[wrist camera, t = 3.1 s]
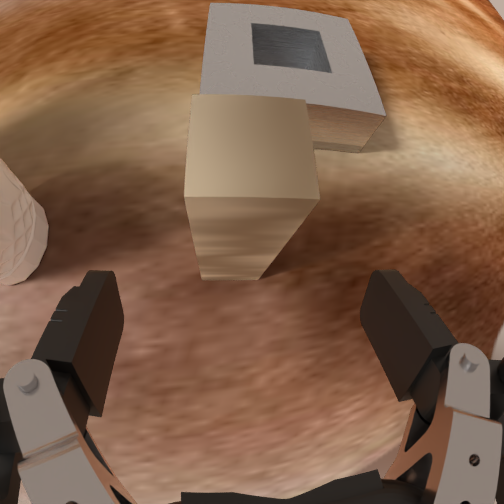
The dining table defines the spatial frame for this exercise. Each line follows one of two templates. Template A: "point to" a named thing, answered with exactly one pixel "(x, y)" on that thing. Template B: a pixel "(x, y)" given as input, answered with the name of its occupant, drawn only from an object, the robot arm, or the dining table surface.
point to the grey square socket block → (295, 68)
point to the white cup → (19, 229)
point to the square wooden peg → (247, 180)
